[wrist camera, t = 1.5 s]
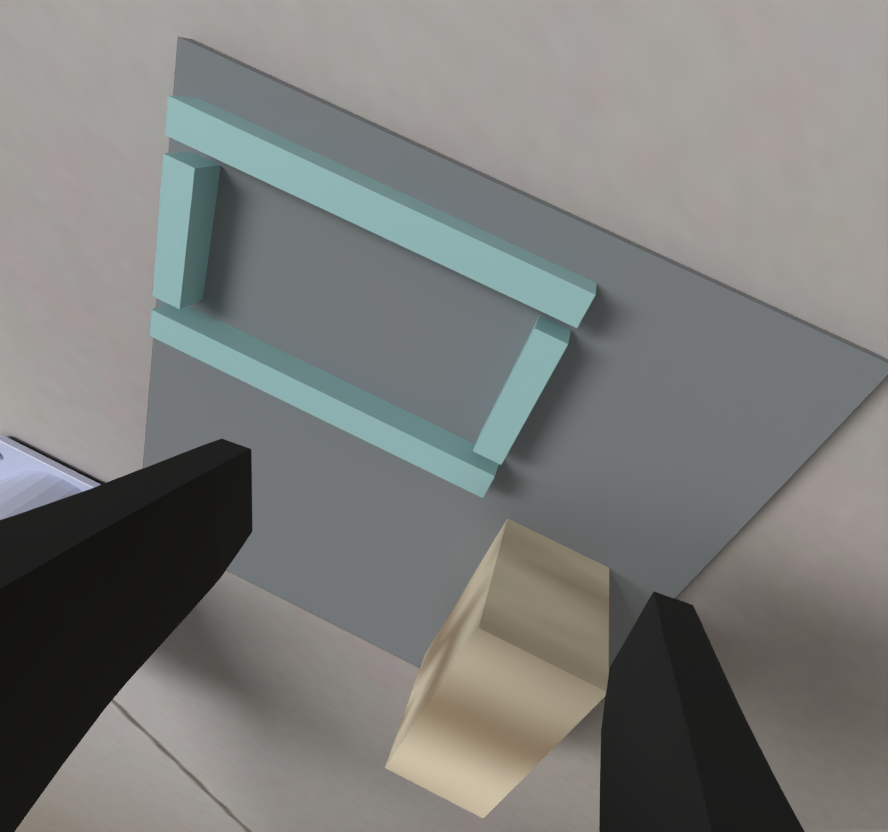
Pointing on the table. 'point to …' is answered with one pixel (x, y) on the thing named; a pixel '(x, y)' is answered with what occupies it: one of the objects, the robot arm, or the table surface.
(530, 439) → the rubber mat
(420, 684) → the birch block
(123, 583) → the robot arm
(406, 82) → the table surface
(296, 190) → the teal frame
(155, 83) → the table surface
